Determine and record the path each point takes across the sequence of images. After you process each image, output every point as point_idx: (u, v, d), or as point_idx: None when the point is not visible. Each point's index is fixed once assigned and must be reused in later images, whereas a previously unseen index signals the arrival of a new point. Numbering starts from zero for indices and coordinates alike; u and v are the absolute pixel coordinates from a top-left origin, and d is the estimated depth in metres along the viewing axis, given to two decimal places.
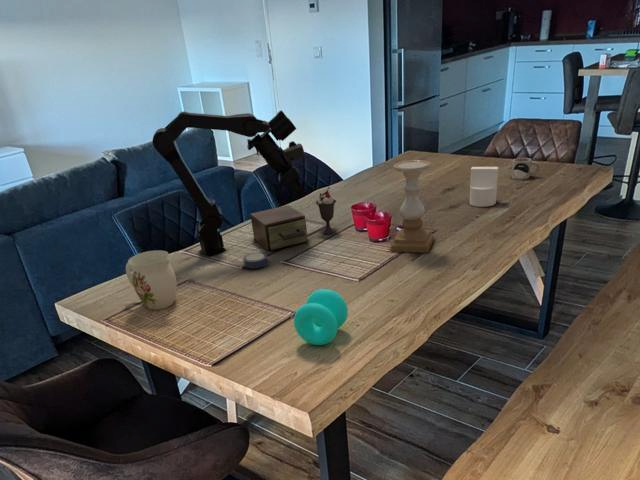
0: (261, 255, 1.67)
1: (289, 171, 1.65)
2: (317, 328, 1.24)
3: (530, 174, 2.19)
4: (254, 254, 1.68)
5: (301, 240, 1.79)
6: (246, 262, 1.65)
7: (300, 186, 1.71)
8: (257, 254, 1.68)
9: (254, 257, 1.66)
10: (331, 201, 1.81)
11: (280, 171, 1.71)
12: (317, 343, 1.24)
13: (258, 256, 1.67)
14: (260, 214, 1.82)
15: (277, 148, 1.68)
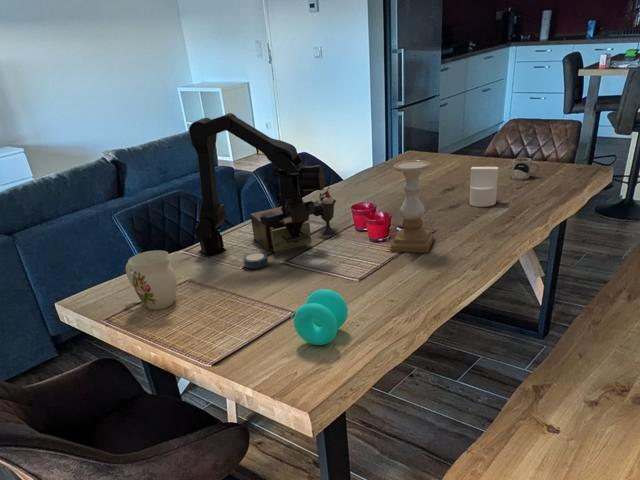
0: (261, 255, 1.67)
1: (264, 218, 1.63)
2: (317, 328, 1.24)
3: (530, 174, 2.19)
4: (254, 254, 1.68)
5: (305, 243, 1.76)
6: (246, 262, 1.65)
7: (291, 233, 1.70)
8: (257, 254, 1.68)
9: (254, 257, 1.66)
10: (331, 201, 1.81)
11: (282, 211, 1.67)
12: (317, 343, 1.24)
13: (258, 256, 1.67)
14: (260, 214, 1.82)
15: (287, 194, 1.62)
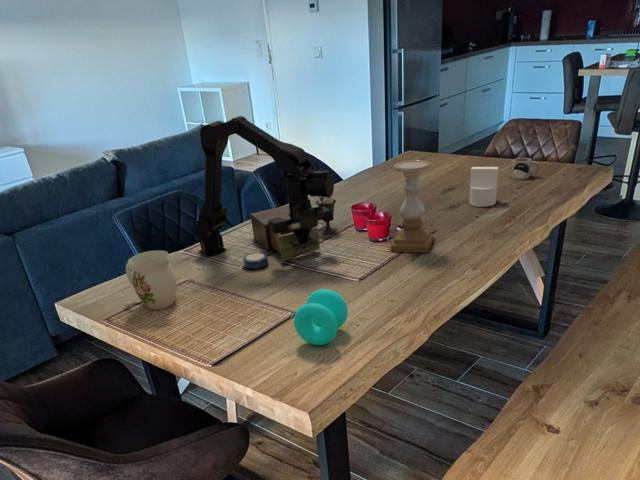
0: (261, 255, 1.67)
1: (272, 223, 1.59)
2: (317, 328, 1.24)
3: (530, 174, 2.19)
4: (254, 254, 1.68)
5: (313, 248, 1.71)
6: (246, 262, 1.65)
7: (299, 239, 1.65)
8: (257, 254, 1.68)
9: (254, 257, 1.66)
10: (331, 201, 1.81)
11: (290, 216, 1.62)
12: (317, 343, 1.24)
13: (258, 256, 1.67)
14: (260, 214, 1.82)
15: (295, 199, 1.57)
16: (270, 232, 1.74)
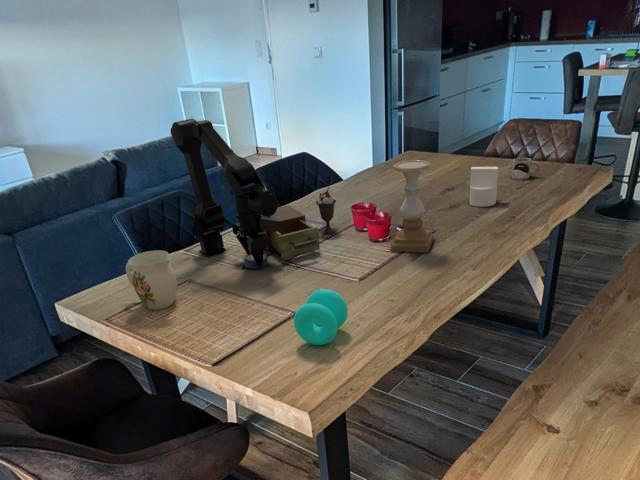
0: None
1: (264, 238, 1.56)
2: (317, 328, 1.24)
3: (530, 174, 2.19)
4: None
5: (313, 248, 1.71)
6: (246, 262, 1.65)
7: (262, 256, 1.62)
8: None
9: None
10: (331, 201, 1.81)
11: (249, 233, 1.60)
12: (317, 343, 1.24)
13: None
14: None
15: None
16: (270, 232, 1.74)
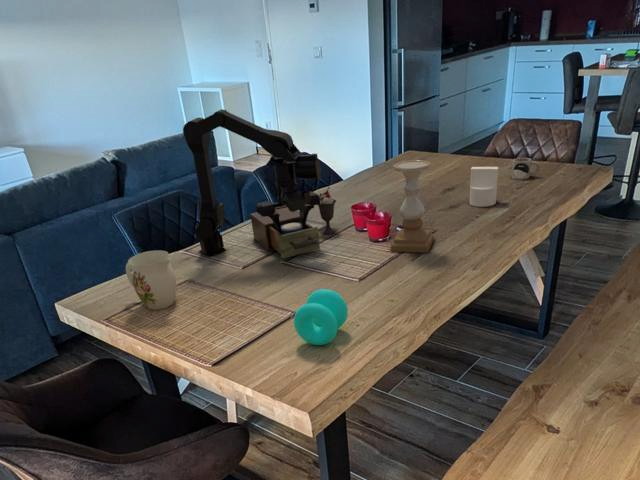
0: (293, 227, 1.70)
1: (260, 206, 1.64)
2: (317, 328, 1.24)
3: (530, 174, 2.19)
4: (297, 225, 1.72)
5: (313, 248, 1.71)
6: None
7: (276, 225, 1.69)
8: (296, 226, 1.71)
9: (289, 226, 1.72)
10: (331, 201, 1.81)
11: (278, 200, 1.68)
12: (317, 343, 1.24)
13: (291, 227, 1.71)
14: None
15: (283, 183, 1.62)
16: (270, 232, 1.74)
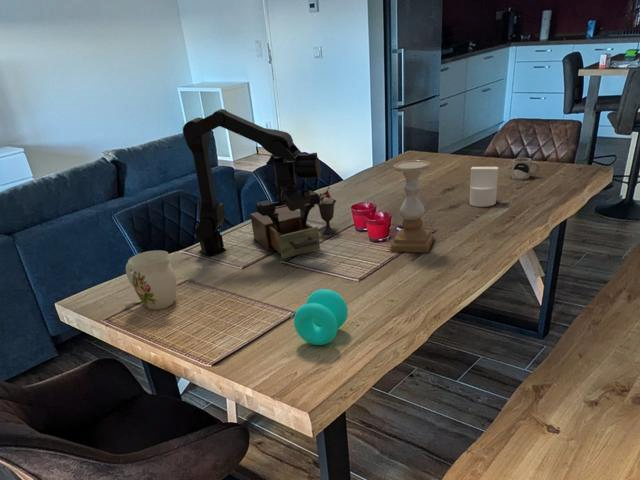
0: None
1: (260, 206, 1.64)
2: (317, 328, 1.24)
3: (530, 174, 2.19)
4: None
5: (313, 249, 1.71)
6: None
7: (275, 224, 1.68)
8: None
9: None
10: (331, 201, 1.81)
11: (278, 199, 1.67)
12: (317, 343, 1.24)
13: None
14: (260, 214, 1.82)
15: (282, 182, 1.62)
16: (270, 232, 1.74)
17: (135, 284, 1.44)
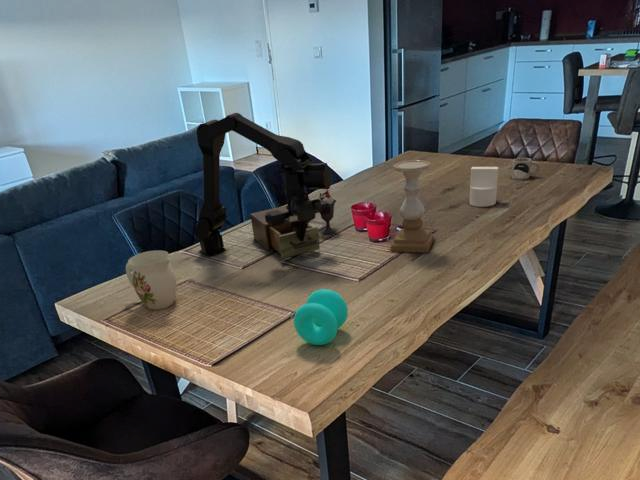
0: None
1: (269, 216, 1.58)
2: (317, 328, 1.24)
3: (530, 174, 2.19)
4: None
5: (313, 248, 1.72)
6: None
7: (296, 232, 1.64)
8: None
9: None
10: (331, 201, 1.81)
11: (287, 209, 1.62)
12: (317, 343, 1.24)
13: None
14: (260, 214, 1.82)
15: (293, 192, 1.57)
16: (270, 232, 1.74)
17: (135, 284, 1.44)
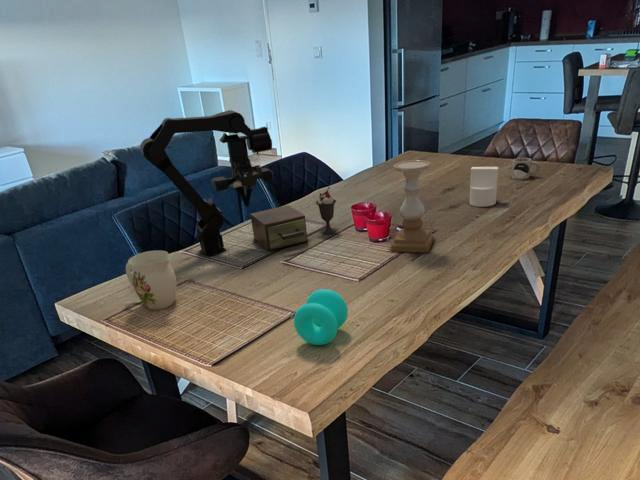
0: None
1: (214, 181, 1.71)
2: (317, 328, 1.24)
3: (530, 174, 2.19)
4: None
5: (300, 240, 1.79)
6: None
7: (241, 197, 1.77)
8: None
9: None
10: (331, 201, 1.81)
11: (232, 175, 1.74)
12: (317, 343, 1.24)
13: None
14: (260, 214, 1.82)
15: (235, 158, 1.69)
16: None
17: (135, 284, 1.44)
